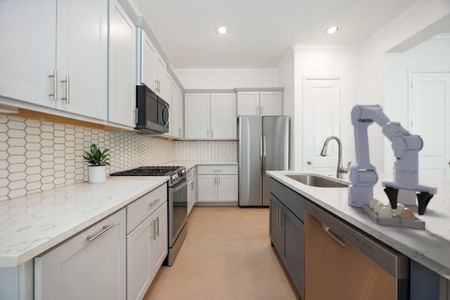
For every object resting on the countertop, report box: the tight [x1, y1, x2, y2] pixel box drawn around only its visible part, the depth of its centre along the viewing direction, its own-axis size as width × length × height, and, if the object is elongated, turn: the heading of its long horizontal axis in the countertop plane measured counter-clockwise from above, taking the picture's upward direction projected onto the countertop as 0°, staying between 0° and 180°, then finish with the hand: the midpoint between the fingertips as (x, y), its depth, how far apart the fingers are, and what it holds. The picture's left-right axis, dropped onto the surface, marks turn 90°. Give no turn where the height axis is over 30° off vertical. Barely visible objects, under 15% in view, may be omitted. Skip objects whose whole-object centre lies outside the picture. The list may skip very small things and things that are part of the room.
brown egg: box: [400, 207, 416, 220], centre depth 72 cm, size 4×4×5 cm
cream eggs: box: [369, 198, 406, 218], centre depth 79 cm, size 10×16×5 cm, turn 159°
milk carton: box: [392, 161, 417, 207], centre depth 98 cm, size 7×7×19 cm
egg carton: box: [362, 204, 426, 229], centre depth 79 cm, size 13×19×2 cm
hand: (407, 211), depth 72 cm, fingers open, 7 cm apart
